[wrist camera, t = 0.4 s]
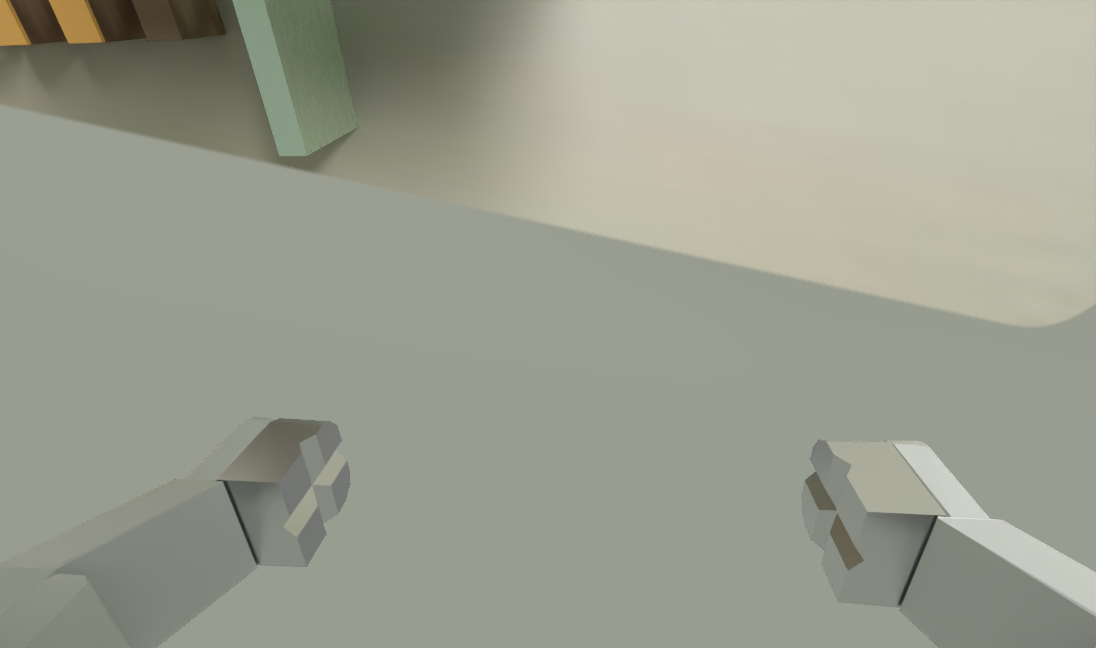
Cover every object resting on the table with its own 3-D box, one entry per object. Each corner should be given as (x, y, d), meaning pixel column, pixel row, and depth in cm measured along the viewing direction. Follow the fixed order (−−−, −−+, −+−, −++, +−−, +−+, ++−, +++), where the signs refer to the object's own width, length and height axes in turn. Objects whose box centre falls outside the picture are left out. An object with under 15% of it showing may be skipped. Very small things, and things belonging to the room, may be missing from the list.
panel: (293, -49, 37) (214, -58, 30) (320, -50, 37) (247, -60, 30) (335, 127, 44) (279, 156, 36) (358, 127, 44) (306, 155, 36)
